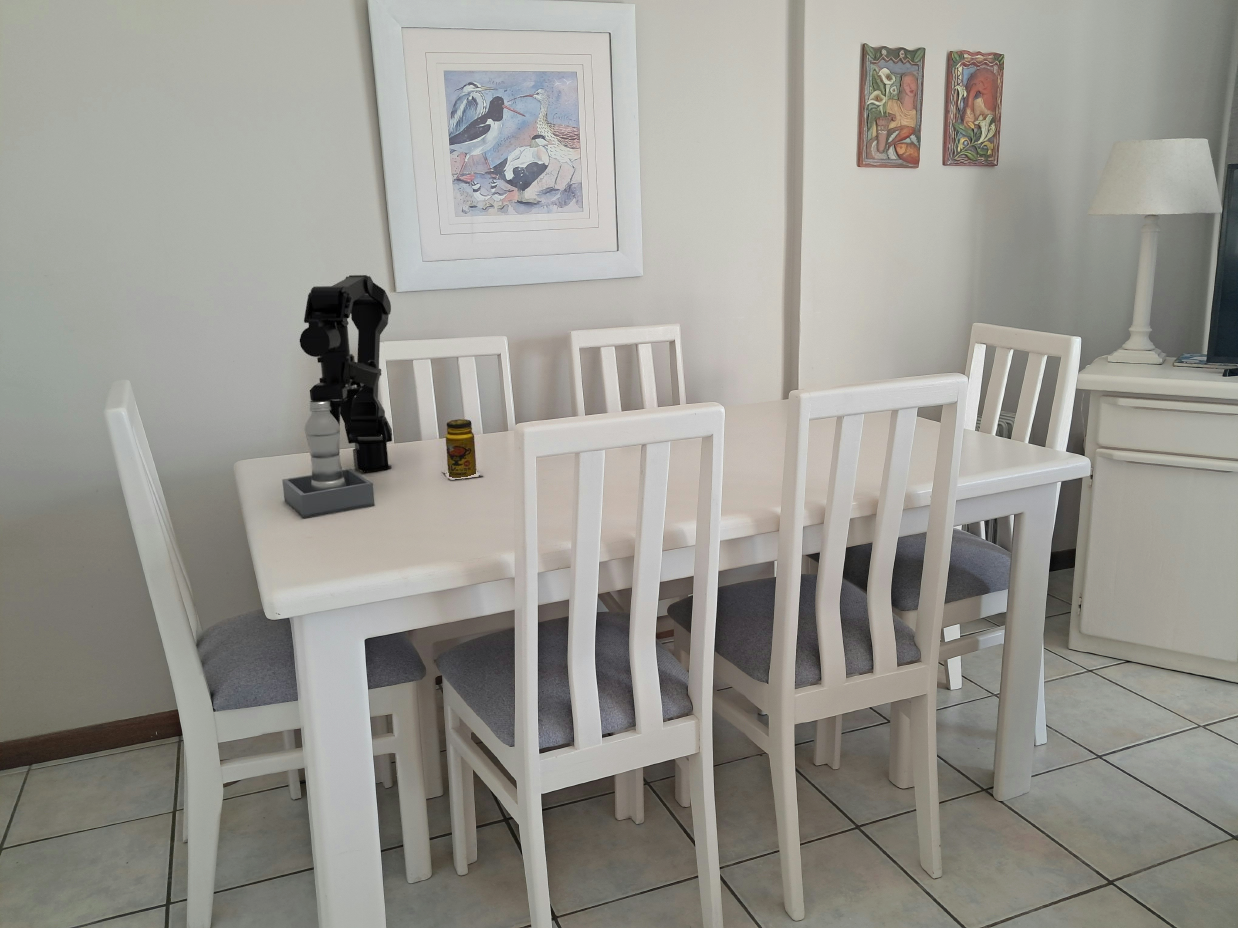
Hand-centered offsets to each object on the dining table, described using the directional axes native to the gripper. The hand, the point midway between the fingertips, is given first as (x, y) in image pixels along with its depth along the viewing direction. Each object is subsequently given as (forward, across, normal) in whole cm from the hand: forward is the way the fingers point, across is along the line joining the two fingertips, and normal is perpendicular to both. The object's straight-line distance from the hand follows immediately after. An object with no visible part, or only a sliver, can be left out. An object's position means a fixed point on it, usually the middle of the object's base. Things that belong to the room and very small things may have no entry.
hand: (341, 428), depth 187 cm
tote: (+13, -9, +2) cm, 16 cm away
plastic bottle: (+13, -10, +1) cm, 16 cm away
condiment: (+13, +10, -22) cm, 28 cm away
